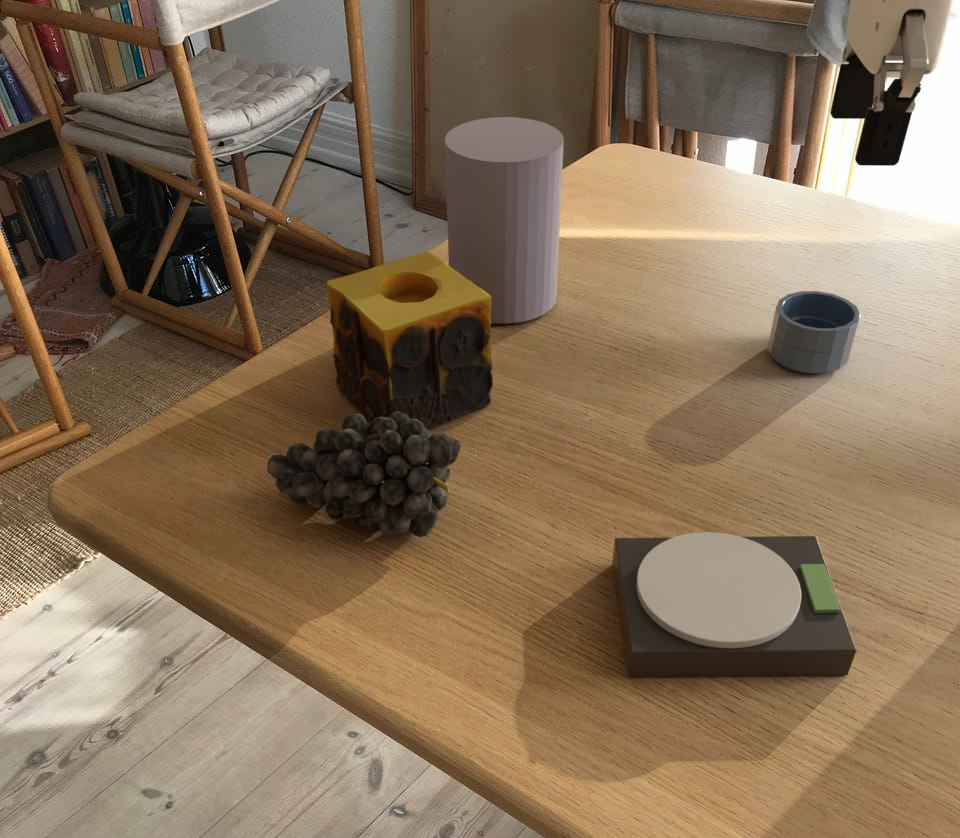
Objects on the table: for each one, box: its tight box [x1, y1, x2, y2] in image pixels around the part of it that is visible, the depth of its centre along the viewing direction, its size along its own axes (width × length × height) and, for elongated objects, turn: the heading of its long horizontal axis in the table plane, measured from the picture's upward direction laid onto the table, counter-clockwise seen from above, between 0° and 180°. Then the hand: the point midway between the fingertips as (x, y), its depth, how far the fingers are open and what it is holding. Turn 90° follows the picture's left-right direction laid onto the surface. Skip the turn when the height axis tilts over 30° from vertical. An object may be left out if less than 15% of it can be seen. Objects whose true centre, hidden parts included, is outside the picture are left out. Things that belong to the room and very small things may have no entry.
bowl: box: [767, 290, 861, 375], centre depth 91 cm, size 7×7×4 cm
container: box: [444, 116, 565, 326], centre depth 95 cm, size 10×10×15 cm
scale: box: [611, 531, 857, 678], centre depth 69 cm, size 14×11×3 cm
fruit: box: [266, 411, 462, 538], centre depth 76 cm, size 9×8×15 cm
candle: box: [325, 251, 494, 430], centre depth 85 cm, size 10×10×10 cm
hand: (862, 139), depth 83 cm, fingers open, 9 cm apart
